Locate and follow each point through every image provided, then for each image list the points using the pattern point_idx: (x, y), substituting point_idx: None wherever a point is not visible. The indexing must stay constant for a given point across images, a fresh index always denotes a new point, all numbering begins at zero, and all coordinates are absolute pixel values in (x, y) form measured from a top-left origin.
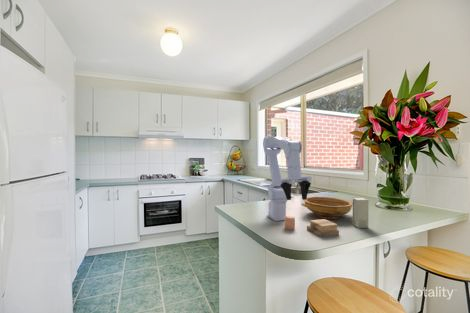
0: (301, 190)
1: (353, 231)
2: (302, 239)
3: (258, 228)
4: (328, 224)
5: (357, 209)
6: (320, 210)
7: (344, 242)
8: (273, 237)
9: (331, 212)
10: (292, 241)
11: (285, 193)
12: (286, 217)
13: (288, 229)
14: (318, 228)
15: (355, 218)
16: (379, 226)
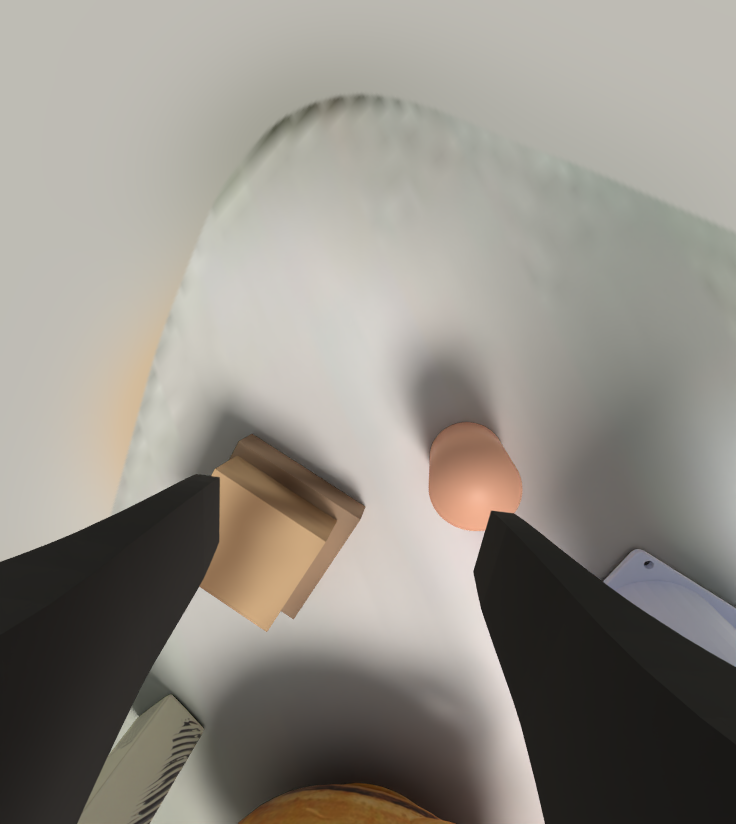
0: (106, 553)
1: None
2: (315, 325)
3: (681, 299)
4: None
5: (84, 817)
6: (357, 805)
7: (142, 440)
8: (480, 213)
9: (287, 799)
10: (346, 246)
11: (585, 577)
12: (499, 471)
13: (459, 424)
14: (261, 479)
15: (153, 755)
16: None
